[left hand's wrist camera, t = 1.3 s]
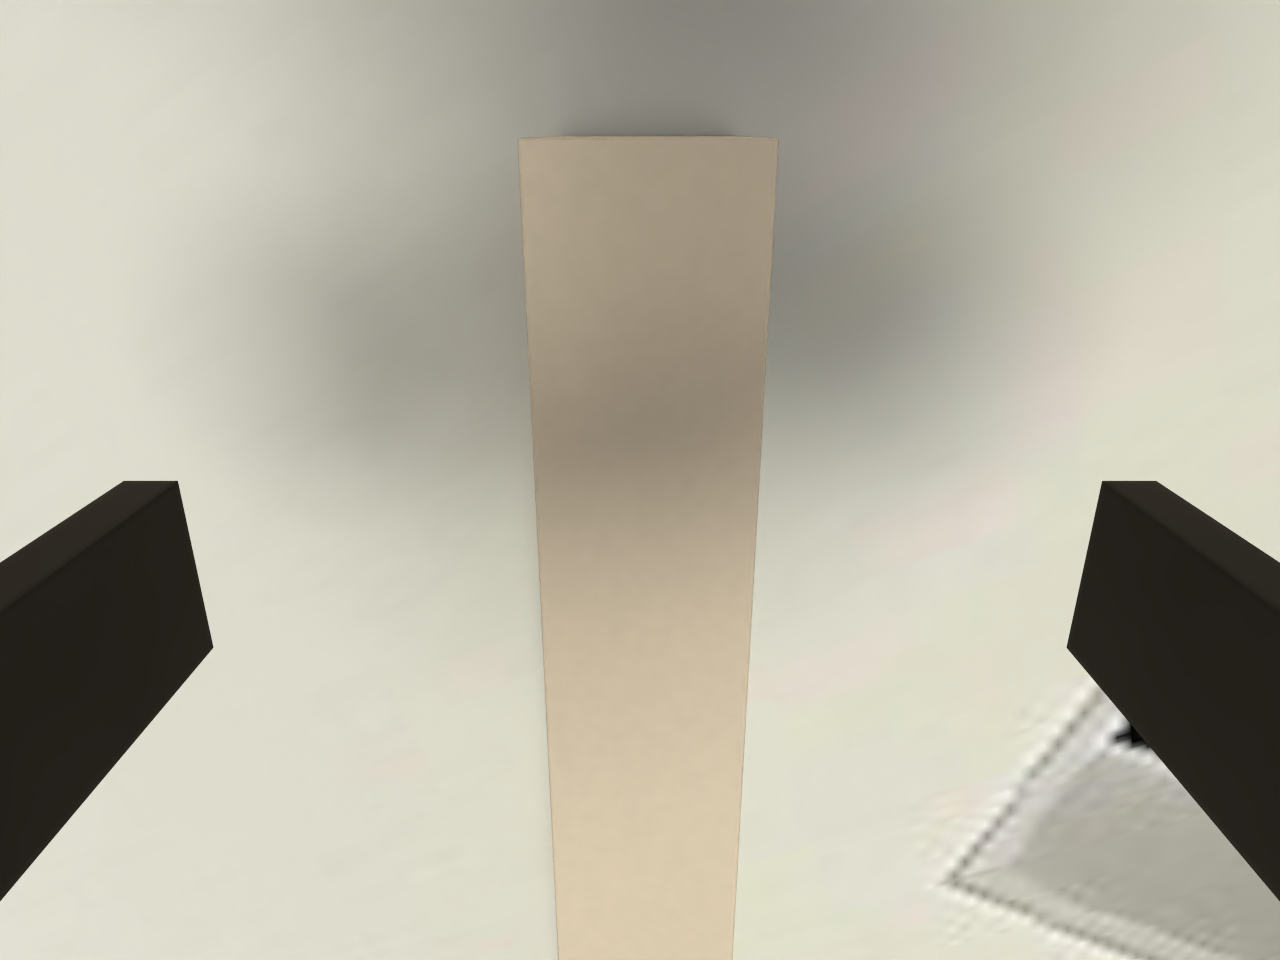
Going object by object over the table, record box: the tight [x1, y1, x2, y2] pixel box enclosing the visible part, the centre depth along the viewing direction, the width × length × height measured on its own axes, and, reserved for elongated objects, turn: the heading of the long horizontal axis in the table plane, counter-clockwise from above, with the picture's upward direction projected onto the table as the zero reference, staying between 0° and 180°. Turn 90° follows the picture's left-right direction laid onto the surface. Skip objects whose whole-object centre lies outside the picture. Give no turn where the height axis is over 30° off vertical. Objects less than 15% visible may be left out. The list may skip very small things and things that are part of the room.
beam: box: [518, 136, 779, 960], centre depth 29 cm, size 51×5×8 cm, turn 0°
